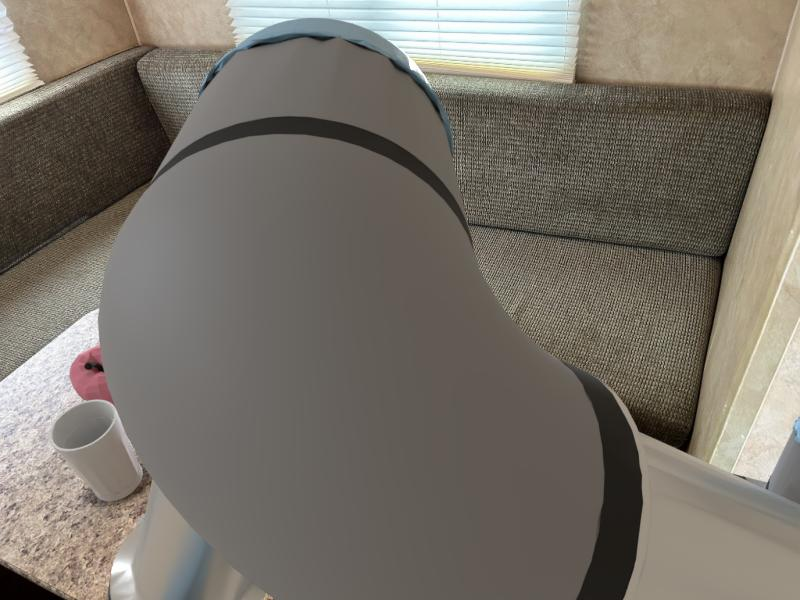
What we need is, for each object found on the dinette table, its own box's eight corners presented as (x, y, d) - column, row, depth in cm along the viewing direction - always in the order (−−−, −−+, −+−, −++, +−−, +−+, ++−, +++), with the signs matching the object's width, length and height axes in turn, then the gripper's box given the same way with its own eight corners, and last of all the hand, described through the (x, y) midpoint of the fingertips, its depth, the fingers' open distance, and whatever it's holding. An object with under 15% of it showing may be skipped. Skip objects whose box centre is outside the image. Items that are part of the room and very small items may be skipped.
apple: (156, 402, 93) (132, 356, 86) (99, 433, 89) (71, 387, 83) (134, 369, 99) (111, 323, 93) (80, 396, 95) (52, 351, 89)
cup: (122, 514, 78) (85, 458, 71) (75, 497, 81) (33, 441, 73) (161, 464, 84) (130, 407, 76) (115, 450, 86) (81, 393, 79)
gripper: (637, 677, 43) (372, 572, 51) (670, 419, 61) (468, 368, 68) (657, 634, 39) (361, 524, 46) (686, 366, 56) (467, 318, 63)
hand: (424, 431), depth 57 cm, fingers open, 13 cm apart
